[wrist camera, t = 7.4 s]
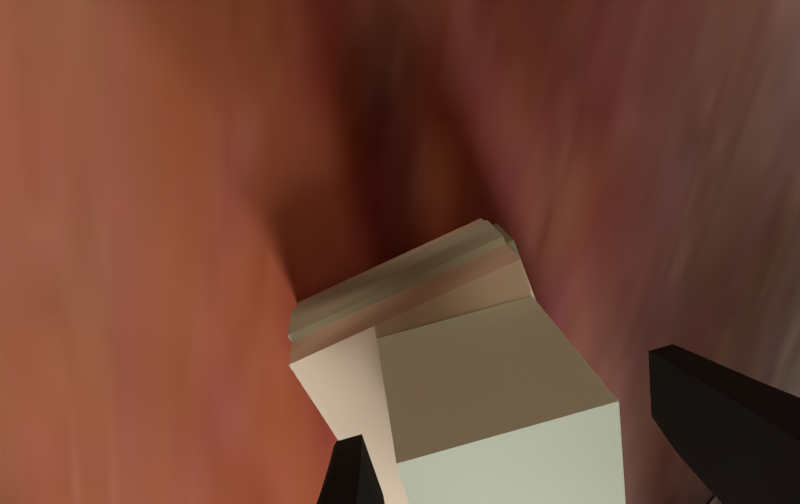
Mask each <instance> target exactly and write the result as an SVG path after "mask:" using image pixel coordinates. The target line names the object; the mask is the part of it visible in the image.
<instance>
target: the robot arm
mask: <svg viewBox="0 0 800 504" xmlns="http://www.w3.org/2000/svg"><path fill="white" fill-rule="evenodd" d="M649 369H650V391H651V412H652V417H653V419H654V420H655V422H656V423H657V425H658V426H659V428H660V429H661V430H662V432H663V433H664V435H665V436H666V438H667V439H668V441H669V442H670V443H671V445H672V446H673V447H674V449H675V450H676V452H677V453H678V454H679V455H680V457H681V458H682V459H683V460H684V461H685V462H686V464H687V465H688V466H689V467H690V468H691V469H692V470H693V471H694V473H695V474H696V475H697V476H698V477H699V478H700V479H701V481H702V482H703V483H704V484H705V485H706V486H707V487H708V488H709V489H710V491H711V492H712V493H713V494H714V495H715V496H716V497H717V498H718V500H719V501H720V502H721V503H722V504H800V398H799V397H796V396H794V395H791V394H789V393H786V392H784V391H781V390H779V389H776V388H774V387H771V386H769V385H766V384H764V383H762V382H759V381H757V380H755V379H752V378H750V377H747V376H745V375H743V374H740V373H738V372H736V371H734V370H731V369H729V368H727V367H724V366H722V365H720V364H718V363H715V362H713V361H711V360H708V359H706V358H704V357H702V356H699V355H697V354H695V353H692V352H690V351H688V350H685V349H683V348H680V347H678V346H675V345H673V344H672V345H669V346H665V347H662V348H658V349H655V350H651V351H649ZM317 504H385V502H384V496H383V493H382V490H381V487H380V484H379V481H378V478H377V476H376V473H375V470H374V467H373V464H372V461H371V459H370V456H369V453H368V450H367V447H366V445H365V442H364V439H363V436H362V434H360V435H357V436H353V437H350V438H346V439H343V440H339V441H337V442H336V444H335V445H334V448H333V452H332V456H331V460H330V463H329V467H328V470H327V474H326V477H325V480H324V483H323V487H322V490H321V493H320V496H319V499H318V501H317Z"/></svg>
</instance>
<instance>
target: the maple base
mask: <svg viewBox="0 0 800 504" xmlns="http://www.w3.org/2000/svg"><path fill="white" fill-rule="evenodd" d="M531 296H533V298H534V299H535V297H534V294H533V291H532V288H531V286H530V283H529V280H528V277H527V275H526V272H525V269H524V267H523V264H522V261H521V258H520V256H519V253H518V250H517V248H516V245H515V242H514V240H513V239H512V238H511V237H510V236H509V235H508V234H507V233H506V232H505V231H504V230H503V229H502V228H501V227H500V226H499V225H498V224H497V223H496V224H493V225H492V224H491V223H490V222H489V221H488V220H485V221H484V220H483V219H482V218H480V219H478V220H476V221H473V222H471V223H469V224H467V225H465V226H462V227H460V228H458V229H456V230H454V231H452V232H449V233H447V234H445V235H443V236H441V237H439V238H436V239H434V240H432V241H430V242H428V243H426V244H423V245H421V246H419V247H417V248H415V249H412V250H410V251H408V252H406V253H404V254H402V255H399V256H397V257H395V258H393V259H391V260H389V261H386V262H384V263H382V264H380V265H378V266H376V267H373V268H371V269H369V270H367V271H365V272H363V273H360V274H358V275H356V276H354V277H352V278H349V279H347V280H345V281H343V282H341V283H339V284H336V285H334V286H332V287H330V288H328V289H326V290H323V291H321V292H319V293H317V294H315V295H313V296H310V297H308V298H306V299H304V300H302V301H299V302H297V306H296V308H294V309H292V310H291V317H290V324H289V331H288V336H289V338H290V340H291V341H292V345H291V352H290V360H289V366H290V367H291V369H292V370H293V372H294V373H295V375H296V377H297V378H298V380H299V381H300V383H301V384H302V386H303V387H304V389H305V390H306V392H307V393H308V395H309V396H310V398H311V399H312V401H313V402H314V404H315V406H316V407H317V409H318V410H319V412H320V413H321V415H322V416H323V418H324V419H325V421H326V422H327V424H328V425H329V427H330V428H331V430H332V431H333V433H334V434H335V436H336V438H337V439H338V441H339V440H343V439H346V438H350V437H353V436H357V435H360V434H362V436H363V439H364V442H365V445H366V447H367V450H368V453H369V456H370V459H371V461H372V464H373V467H374V470H375V473H376V476H377V478H378V481H379V484H380V487H381V490H382V493H383V496H384V502H385V504H409V501H408V498H407V495H406V492H405V489H404V486H403V483H402V479H401V476H400V473H399V470H398V467H397V464H396V457H395V451H394V445H393V438H392V432H391V426H390V419H389V413H388V407H387V400H386V394H385V388H384V381H383V375H382V369H381V362H380V356H379V350H378V343H377V338H381V337H385V336H388V335H392V334H396V333H399V332H403V331H406V330H410V329H414V328H417V327H421V326H425V325H428V324H432V323H436V322H439V321H443V320H447V319H450V318H454V317H458V316H461V315H465V314H469V313H472V312H476V311H480V310H483V309H487V308H491V307H494V306H498V305H502V304H505V303H509V302H513V301H516V300H520V299H524V298H527V297H531ZM535 300H536V299H535Z"/></svg>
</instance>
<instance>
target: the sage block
mask: <svg viewBox="0 0 800 504" xmlns="http://www.w3.org/2000/svg"><path fill="white" fill-rule="evenodd" d="M377 343H378V350H379V356H380V362H381V369H382V375H383V381H384V388H385V394H386V400H387V407H388V413H389V419H390V426H391V432H392V438H393V445H394V451H395V457H396V464H397V467H398V470H399V473H400V476H401V479H402V483H403V486H404V489H405V492H406V495H407V498H408V501H409V504H626V502H625V486H624V471H623V456H622V441H621V426H620V411H619V401H618V400H617V398H616V397H615V396H614V395H613V393H612V392H611V391H610V390H609V389H608V387H607V386H606V385H605V384H604V383H603V381H602V380H601V379H600V378H599V377H598V375H597V374H596V373H595V372H594V370H593V369H592V368H591V367H590V366H589V364H588V363H587V362H586V361H585V360H584V358H583V357H582V356H581V355H580V353H579V352H578V351H577V350H576V349H575V347H574V346H573V345H572V344H571V343H570V341H569V340H568V339H567V338H566V336H565V335H564V334H563V333H562V332H561V330H560V329H559V328H558V327H557V326H556V324H555V323H554V322H553V321H552V320H551V318H550V317H549V316H548V315H547V313H546V312H545V311H544V310H543V309H542V307H541V306H540V305H539V304H538V303H537V301H536V300H535V299H534V298H533V296H531V297H527V298H524V299H520V300H516V301H513V302H509V303H505V304H502V305H498V306H494V307H491V308H487V309H483V310H480V311H476V312H472V313H469V314H465V315H461V316H458V317H454V318H450V319H447V320H443V321H439V322H436V323H432V324H428V325H425V326H421V327H417V328H414V329H410V330H406V331H403V332H399V333H396V334H392V335H388V336H385V337H381V338H377Z"/></svg>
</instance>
